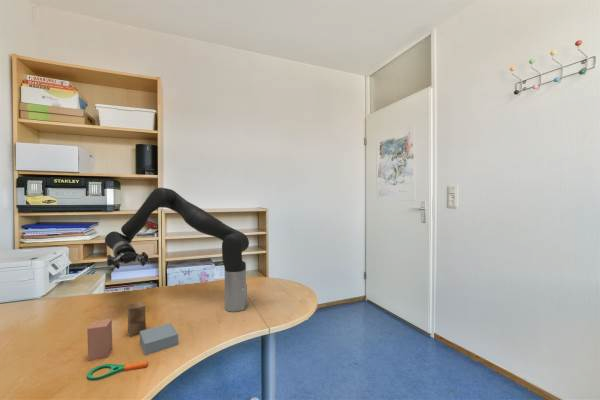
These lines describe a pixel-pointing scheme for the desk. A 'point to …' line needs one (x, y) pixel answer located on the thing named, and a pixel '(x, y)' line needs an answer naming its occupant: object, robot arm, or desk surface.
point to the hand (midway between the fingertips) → (131, 265)
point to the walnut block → (136, 318)
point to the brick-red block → (99, 339)
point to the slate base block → (158, 338)
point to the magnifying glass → (113, 369)
